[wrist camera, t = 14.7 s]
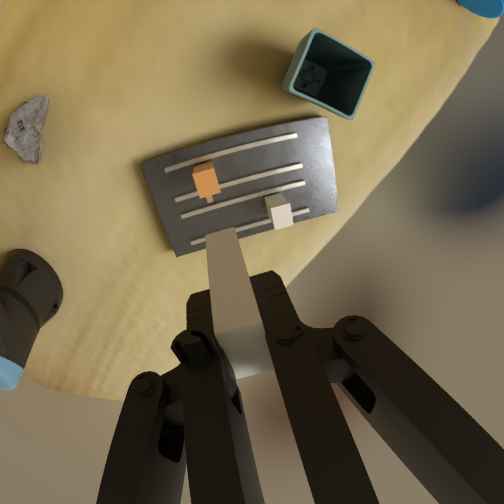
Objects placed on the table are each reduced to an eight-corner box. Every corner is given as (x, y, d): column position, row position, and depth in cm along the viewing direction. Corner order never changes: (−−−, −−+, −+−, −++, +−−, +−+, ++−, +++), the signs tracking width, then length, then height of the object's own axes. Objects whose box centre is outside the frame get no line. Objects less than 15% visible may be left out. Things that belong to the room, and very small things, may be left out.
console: (177, 250, 43) (176, 259, 41) (143, 161, 35) (139, 165, 33) (332, 206, 44) (339, 212, 42) (321, 115, 36) (328, 116, 34)
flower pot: (322, 115, 36) (353, 122, 29) (267, 92, 33) (287, 90, 26) (342, 66, 32) (376, 62, 25) (289, 39, 30) (314, 26, 22)
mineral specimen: (39, 124, 32) (76, 142, 33) (9, 161, 29) (43, 185, 30) (23, 85, 23) (61, 99, 24) (-16, 126, 20) (17, 147, 21)
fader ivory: (267, 216, 40) (275, 230, 37) (263, 196, 39) (270, 208, 35) (284, 211, 41) (293, 224, 37) (280, 192, 39) (290, 203, 35)
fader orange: (199, 187, 36) (199, 198, 33) (192, 165, 35) (192, 174, 31) (218, 182, 37) (220, 192, 33) (212, 160, 35) (213, 167, 31)
